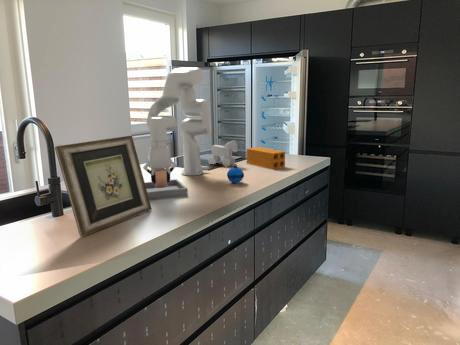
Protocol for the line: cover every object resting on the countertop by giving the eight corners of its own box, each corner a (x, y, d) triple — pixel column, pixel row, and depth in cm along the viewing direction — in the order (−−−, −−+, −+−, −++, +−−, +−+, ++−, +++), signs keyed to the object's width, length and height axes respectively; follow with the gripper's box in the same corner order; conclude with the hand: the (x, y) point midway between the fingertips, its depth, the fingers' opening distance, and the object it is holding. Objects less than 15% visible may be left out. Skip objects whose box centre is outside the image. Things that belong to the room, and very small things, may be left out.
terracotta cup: (166, 184, 179) (165, 167, 177) (168, 187, 173) (168, 170, 172) (153, 185, 177) (152, 169, 175) (156, 188, 171) (155, 171, 169)
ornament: (224, 184, 190) (224, 165, 188) (230, 180, 198) (230, 162, 196) (240, 185, 187) (240, 166, 185) (245, 181, 195) (245, 162, 193)
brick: (284, 167, 229) (285, 151, 227) (272, 169, 224) (272, 153, 222) (258, 161, 250) (258, 147, 248) (246, 163, 244) (246, 148, 242)
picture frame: (82, 237, 123) (72, 147, 116) (64, 232, 128) (53, 145, 121) (152, 210, 150) (147, 136, 143) (134, 207, 155) (129, 135, 148)
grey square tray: (177, 185, 188) (177, 179, 188) (187, 195, 170) (187, 188, 169) (137, 190, 181) (136, 183, 180) (143, 201, 163) (143, 193, 162)
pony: (241, 165, 238) (240, 139, 234) (232, 168, 229) (232, 141, 226) (215, 162, 248) (214, 137, 245) (206, 165, 240) (205, 139, 236)
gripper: (175, 142, 177) (177, 178, 181) (138, 144, 171) (141, 182, 175) (179, 144, 170) (180, 182, 174) (141, 146, 164) (143, 186, 168)
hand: (160, 182), depth 174 cm, fingers closed on terracotta cup, 6 cm apart
